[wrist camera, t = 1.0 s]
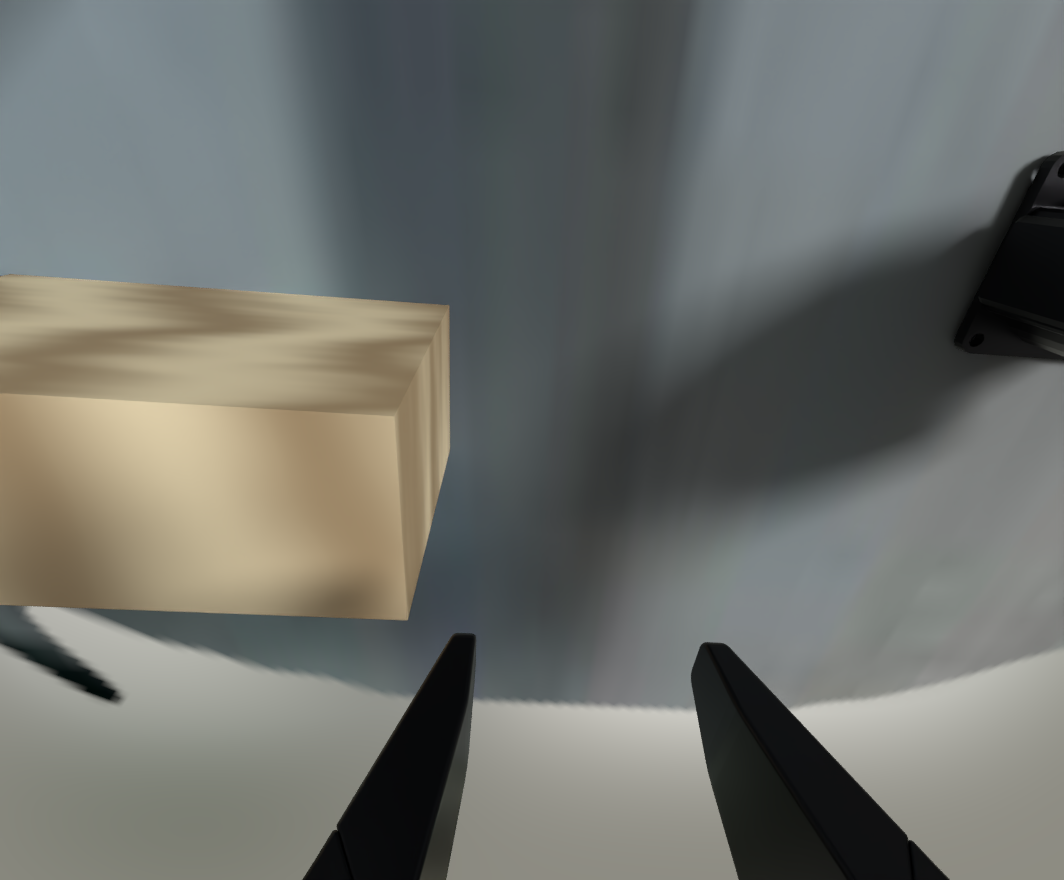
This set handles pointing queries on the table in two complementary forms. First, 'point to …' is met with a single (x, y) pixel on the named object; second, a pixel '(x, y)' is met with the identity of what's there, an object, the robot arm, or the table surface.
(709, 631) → the table surface
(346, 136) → the table surface
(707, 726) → the robot arm
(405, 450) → the beech block
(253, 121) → the table surface
